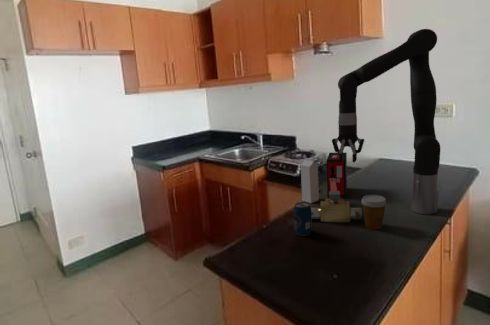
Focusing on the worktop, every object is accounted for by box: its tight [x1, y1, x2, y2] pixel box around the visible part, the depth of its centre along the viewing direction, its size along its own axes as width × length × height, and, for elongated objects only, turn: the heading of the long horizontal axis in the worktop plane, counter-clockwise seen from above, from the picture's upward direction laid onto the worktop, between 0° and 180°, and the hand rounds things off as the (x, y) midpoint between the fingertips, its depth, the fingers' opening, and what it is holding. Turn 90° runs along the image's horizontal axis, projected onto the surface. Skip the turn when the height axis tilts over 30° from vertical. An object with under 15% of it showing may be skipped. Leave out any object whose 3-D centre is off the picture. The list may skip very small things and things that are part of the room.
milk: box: [300, 157, 320, 204], centre depth 167 cm, size 6×6×22 cm
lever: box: [328, 181, 341, 199], centre depth 150 cm, size 18×4×3 cm, turn 168°
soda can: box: [293, 201, 313, 237], centre depth 134 cm, size 7×7×12 cm
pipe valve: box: [311, 198, 363, 223], centre depth 145 cm, size 25×7×9 cm, turn 78°
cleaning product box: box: [326, 152, 348, 199], centre depth 175 cm, size 16×9×20 cm, turn 161°
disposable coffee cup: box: [360, 194, 388, 231], centre depth 134 cm, size 10×10×12 cm
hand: (347, 161), depth 147 cm, fingers open, 4 cm apart
